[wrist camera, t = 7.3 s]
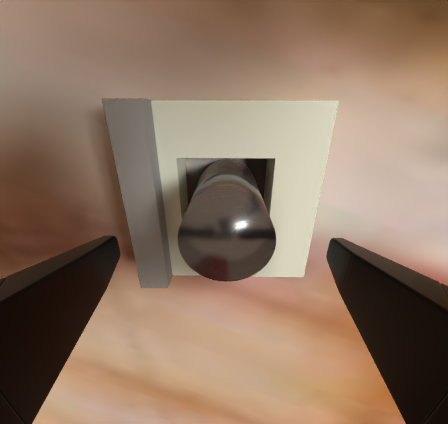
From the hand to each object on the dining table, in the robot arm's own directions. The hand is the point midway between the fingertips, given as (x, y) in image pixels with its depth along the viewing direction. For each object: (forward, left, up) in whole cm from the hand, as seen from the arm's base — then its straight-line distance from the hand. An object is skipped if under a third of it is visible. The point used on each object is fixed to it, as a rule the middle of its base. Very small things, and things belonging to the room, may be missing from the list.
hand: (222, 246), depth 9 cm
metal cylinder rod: (0, 0, -7) cm, 7 cm away
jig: (0, 0, -7) cm, 7 cm away
